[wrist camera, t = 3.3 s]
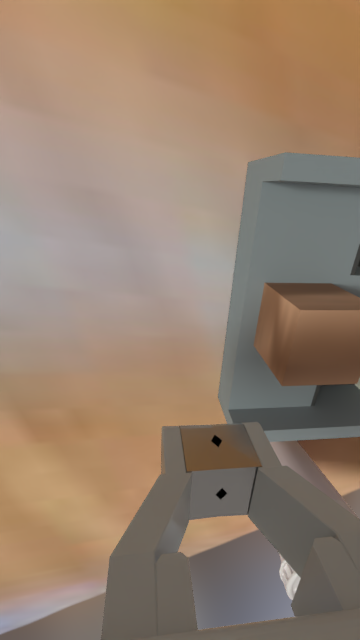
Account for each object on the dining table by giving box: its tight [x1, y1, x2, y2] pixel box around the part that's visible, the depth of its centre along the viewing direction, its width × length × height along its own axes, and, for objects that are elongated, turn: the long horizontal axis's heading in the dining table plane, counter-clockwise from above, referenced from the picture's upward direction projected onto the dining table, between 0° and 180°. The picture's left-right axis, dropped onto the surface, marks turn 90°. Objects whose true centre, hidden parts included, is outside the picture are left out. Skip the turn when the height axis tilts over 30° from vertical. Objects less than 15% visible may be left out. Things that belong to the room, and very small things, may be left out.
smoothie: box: [270, 441, 359, 601], centre depth 19 cm, size 6×6×14 cm
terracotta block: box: [254, 283, 360, 386], centre depth 15 cm, size 4×4×4 cm
